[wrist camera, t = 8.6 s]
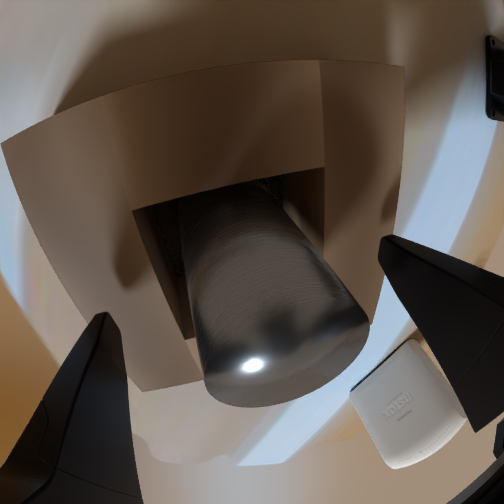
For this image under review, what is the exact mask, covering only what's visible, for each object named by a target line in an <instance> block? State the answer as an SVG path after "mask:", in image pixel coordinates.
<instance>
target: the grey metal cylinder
mask: <svg viewBox="0 0 504 504" xmlns="http://www.w3.org/2000/svg"><path fill="white" fill-rule="evenodd" d="M178 221H179V230H180V238H181V246H182V254H183V262H184V269H185V276H186V283H187V289H188V296H189V302H190V308H191V314H192V320H193V326H194V331H195V337H196V342H197V348H198V353H199V358H200V363H201V368H202V373H203V377H204V382H205V386H206V388H207V391H208V392H209V393H210V395H211V396H213V397H214V398H215V399H217V400H218V401H220V402H222V403H225V404H228V405H232V406H237V407H249V408H251V407H265V406H271V405H276V404H280V403H284V402H288V401H291V400H294V399H297V398H299V397H302V396H304V395H306V394H309V393H311V392H313V391H315V390H316V389H318V388H320V387H322V386H323V385H325V384H327V383H328V382H330V381H331V380H333V379H334V378H335V377H337V376H338V375H339V374H340V373H342V372H343V371H344V370H345V369H346V368H347V367H348V366H349V365H350V364H351V363H352V362H353V361H354V360H355V359H356V357H357V356H358V355H359V353H360V352H361V350H362V349H363V347H364V345H365V343H366V341H367V338H368V335H369V331H370V323H369V318H368V316H367V314H366V313H365V311H364V310H363V309H362V307H361V306H360V305H359V303H358V302H357V301H356V299H355V298H354V297H353V295H352V294H351V293H350V291H349V290H348V289H347V287H346V286H345V285H344V284H343V282H342V281H341V280H340V278H339V277H338V276H337V274H336V273H335V272H334V271H333V269H332V268H331V267H330V266H329V264H328V263H327V262H326V261H325V259H324V258H323V257H322V255H321V254H320V253H319V252H318V250H317V249H316V248H315V247H314V246H313V244H312V243H311V242H310V241H309V239H308V238H307V237H306V236H305V234H304V233H303V232H302V231H301V230H300V228H299V227H298V226H297V225H296V224H295V222H294V221H293V220H292V219H291V218H290V216H289V215H288V214H287V213H286V212H285V210H284V209H283V208H282V207H281V206H280V205H279V203H278V202H277V201H276V200H275V199H274V198H273V196H272V195H271V194H270V193H269V192H268V191H267V189H266V188H265V187H264V186H263V185H262V184H261V182H260V181H259V180H258V179H256V180H251V181H246V182H242V183H237V184H233V185H228V186H224V187H219V188H215V189H211V190H207V191H203V192H199V193H195V194H191V195H187V196H183V197H181V198H180V200H179V204H178Z"/></svg>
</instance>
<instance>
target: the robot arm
mask: <svg viewBox="0 0 504 504" xmlns="http://www.w3.org/2000/svg"><path fill="white" fill-rule="evenodd" d="M486 47H487V66H488V94H487V117H488V118H490V119H492V120H497V121H503V122H504V43H503V42H501V41H500V40H498V39H497V38H495V37H493V36H490V35H487V36H486ZM378 262H379V264H380V266H381V268H382V269H383V271H384V273H385V275H386V277H387V278H388V280H389V282H390V284H391V286H392V287H393V289H394V291H395V293H396V295H397V296H398V298H399V300H400V301H401V303H402V304H403V306H404V307H405V309H406V310H407V312H408V313H409V315H410V316H411V318H412V320H413V321H414V323H415V324H416V326H417V327H418V329H419V331H420V332H421V334H422V336H423V337H424V339H425V340H426V342H427V344H428V345H429V347H430V349H431V350H432V352H433V354H434V356H435V357H436V359H437V361H438V362H439V364H440V366H441V368H442V369H443V371H444V373H445V375H446V377H447V379H448V380H449V382H450V384H451V386H452V388H453V390H454V392H455V394H456V396H457V398H458V400H459V402H460V403H461V405H462V407H463V409H464V412H465V414H466V416H467V418H468V420H469V422H470V424H471V426H472V428H473V430H474V432H475V433H476V432H478V431H479V430H480V429H482V428H483V427H485V426H486V425H487V424H489V423H490V422H491V421H492V420H494V419H495V418H496V417H497V416H499V415H500V414H501V413H503V412H504V277H501V276H499V275H497V274H494V273H492V272H489V271H487V270H484V269H482V268H480V267H479V268H478V267H477V266H475V265H472V264H470V263H467V262H465V261H462V260H460V259H457V258H455V257H452V256H450V255H447V254H445V253H442V252H439V251H437V250H434V249H432V248H429V247H426V246H423V245H421V244H418V243H415V242H413V241H410V240H407V239H404V238H401V237H398V236H396V235H393V234H390V235H386V236H383V237H382V238H381V239H380V244H379V250H378ZM42 399H43V400H41V401H40V403H39V405H38V407H37V409H36V410H35V412H34V414H33V416H32V418H31V419H30V421H29V423H28V425H27V426H26V428H25V430H24V431H23V433H22V435H21V437H20V438H19V439H18V441H17V443H16V444H15V446H14V448H13V449H12V452H11V453H10V455H9V456H8V458H7V460H6V461H5V463H4V464H3V465H2V467H1V468H0V504H144V503H143V499H142V495H141V490H140V485H139V479H138V474H137V468H136V462H135V455H134V448H133V441H132V431H131V422H130V411H129V398H128V383H127V373H126V366H125V360H124V352H123V344H122V336H121V332H120V329H119V327H118V326H117V324H116V323H115V321H114V319H113V318H112V316H111V315H110V313H109V312H106V311H105V312H101V313H97V314H95V315H94V317H93V318H92V320H91V321H90V323H89V324H88V326H87V327H86V328H85V330H84V331H83V333H82V334H81V336H80V337H79V339H78V341H77V342H76V344H75V345H74V347H73V348H72V350H71V351H70V353H69V354H68V356H67V358H66V359H65V361H64V362H63V364H62V366H61V367H60V369H59V371H58V372H57V374H56V376H55V377H54V379H53V381H52V383H51V384H50V386H49V388H48V389H47V391H46V393H45V394H44V396H43V398H42ZM493 453H494V455H495V457H496V459H497V460H496V461H495V462H494V463H493V464H492V465H491V466H490V467H489V468H488V469H487V470H486V471H485V472H484V473H482V474H481V475H480V476H479V477H478V478H477V479H476V480H475V481H474V482H472V483H471V484H470V485H469V486H468V487H467V488H466V489H464V490H463V491H462V492H461V493H459V494H458V495H457V496H456V497H454V498H453V499H452V500H451V501H449V502H448V503H447V504H504V418H503V419H502V420H501V421H500V422H499V423H498V424H497V429H496V437H495V443H494V450H493Z"/></svg>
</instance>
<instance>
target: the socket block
mask: <svg viewBox="0 0 504 504" xmlns="http://www.w3.org/2000/svg"><path fill="white" fill-rule="evenodd" d="M404 124H405V71H404V67H403V66H396V65H389V64H380V63H371V62H359V61H343V60H282V61H266V62H254V63H244V64H235V65H228V66H221V67H214V68H208V69H202V70H197V71H191V72H186V73H181V74H177V75H172V76H168V77H164V78H160V79H156V80H152V81H148V82H144V83H141V84H137V85H134V86H130V87H127V88H124V89H121V90H118V91H115V92H112V93H109V94H106V95H103V96H100V97H97V98H95V99H92V100H89V101H87V102H84V103H82V104H79V105H77V106H74V107H72V108H69V109H67V110H65V111H62V112H60V113H58V114H56V115H54V116H51V117H49V118H47V119H45V120H43V121H41V122H39V123H37V124H35V125H33V126H31V127H29V128H27V129H25V130H23V131H22V132H20V133H18V134H16V135H14V136H13V137H11V138H9V139H7V140H6V141H4V142H2V143H1V147H2V150H3V154H4V157H5V160H6V163H7V166H8V169H9V172H10V175H11V178H12V180H13V183H14V186H15V188H16V191H17V194H18V196H19V199H20V201H21V204H22V206H23V208H24V211H25V213H26V215H27V217H28V220H29V222H30V224H31V226H32V228H33V230H34V233H35V235H36V237H37V239H38V241H39V243H40V245H41V247H42V249H43V251H44V253H45V254H46V256H47V258H48V260H49V262H50V264H51V266H52V267H53V269H54V271H55V273H56V274H57V276H58V278H59V280H60V281H61V283H62V285H63V286H64V288H65V290H66V291H67V293H68V294H69V296H70V298H71V299H72V301H73V302H74V304H75V305H76V307H77V308H78V310H79V312H80V313H81V315H82V316H83V317H84V319H85V320H86V322H87V323H88V324H89V323H90V321H91V320H92V318H93V317H94V315H95V314H97V313H101V312H105V311H106V312H109V313H110V315H111V316H112V318H113V319H114V321H115V323H116V324H117V326H118V327H119V329H120V332H121V336H122V344H123V352H124V360H125V366H126V373H127V375H128V376H129V378H130V379H131V380H132V381H133V382H134V383H135V384H136V386H137V387H138V388H139V389H140V390H141V391H142V392H146V391H152V390H157V389H163V388H168V387H173V386H178V385H182V384H187V383H191V382H196V381H200V380H204V377H203V373H202V368H201V363H200V358H199V353H198V348H197V342H196V337H195V331H194V326H193V320H192V314H191V308H190V302H189V296H188V289H187V283H186V276H185V275H181V276H176V273H175V270H174V267H173V265H172V262H171V259H170V256H169V253H168V250H167V247H166V244H165V241H164V238H163V235H162V232H161V229H160V226H159V223H158V220H157V216H156V213H155V210H154V207H153V204H157V203H160V202H164V201H168V200H171V199H175V198H179V197H183V196H187V195H191V194H195V193H199V192H203V191H207V190H211V189H215V188H219V187H224V186H228V185H233V184H237V183H242V182H246V181H251V180H256V179H261V178H265V177H270V176H276V175H281V182H282V195H283V208H284V210H285V212H286V213H287V214H288V215H289V216H290V218H291V219H292V220H293V221H294V222H295V224H296V225H297V226H298V227H299V228H300V230H301V231H302V232H303V233H304V234H305V236H306V237H307V238H308V239H309V241H310V242H311V243H312V244H313V246H314V247H315V248H316V249H317V250H318V252H319V253H320V254H321V255H322V257H323V258H324V259H325V261H326V262H327V263H328V264H329V266H330V267H331V268H332V269H333V271H334V272H335V273H336V274H337V276H338V277H339V278H340V280H341V281H342V282H343V284H344V285H345V286H346V287H347V289H348V290H349V291H350V293H351V294H352V295H353V297H354V298H355V299H356V301H357V302H358V303H359V305H360V306H361V307H362V309H363V310H364V311H365V313H366V314H367V316H368V318H369V323H370V325H371V324H372V322H373V318H374V315H375V311H376V307H377V304H378V300H379V296H380V292H381V288H382V284H383V279H384V275H385V273H384V271H383V269H382V268H381V266H380V264H379V262H378V250H379V244H380V239H381V238H382V237H383V236H386V235H390V234H393V229H394V223H395V217H396V210H397V203H398V196H399V188H400V179H401V169H402V158H403V144H404Z"/></svg>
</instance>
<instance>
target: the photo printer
mask: <svg viewBox="0 0 504 504" xmlns="http://www.w3.org/2000/svg"><path fill="white" fill-rule="evenodd" d="M349 397H350V400H351V402H352V403H353V405H354V407H355V409H356V411H357V413H358V414H359V416H360V418H361V420H362V422H363V423H364V425H365V427H366V429H367V431H368V432H369V434H370V436H371V438H372V440H373V441H374V443H375V445H376V447H377V449H378V451H379V453H380V454H381V456H382V458H383V460H384V461H385V463H386V464H387V465H388V466H390V467H391V468H393V469H398V468H402V467H406V466H409V465H412V464H414V463H417V462H419V461H421V460H423V459H425V458H427V457H429V456H430V455H432V454H433V453H435V452H436V451H437V450H439V449H440V448H441V447H443V446H444V445H445V444H446V443H447V442H448V441H449V440H450V439H451V438H452V437H453V436H454V435H455V434H456V433H457V432H458V431H459V429H460V428H461V427H462V425H463V424H464V422H465V421H466V419H467V416H466V414H465V412H464V409H463V407H462V405H461V403H460V402H459V400H458V398H457V396H456V394H455V392H454V390H453V388H452V387H451V385H450V384H449V383H448V381H447V380H446V379H445V377H444V376H443V374H442V373H441V372H440V370H439V369H438V368H437V366H436V365H435V364H434V362H433V361H432V360H431V358H430V357H429V356H428V355H427V353H426V352H425V351H424V349H423V348H422V347H421V345H420V344H419V343H418V342H417V341H416V340H415V339H411V340H408V341H406V342H405V343H404V344H403V345H402V346H401V347H400V348H399V349H398V350H397V351H396V352H395V353H394V354H393V355H392V356H390V357H389V358H388V359H387V360H386V361H385V362H384V363H383V364H382V365H381V366H380V367H379V368H377V369H376V370H375V371H374V372H373V373H372V374H371V375H370V376H369V377H367V378H366V379H365V380H364V381H363V382H362V383H361V384H359V385H358V386H357V387H356V388H355V389H354V390H353V391H352V392H350V394H349Z"/></svg>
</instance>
